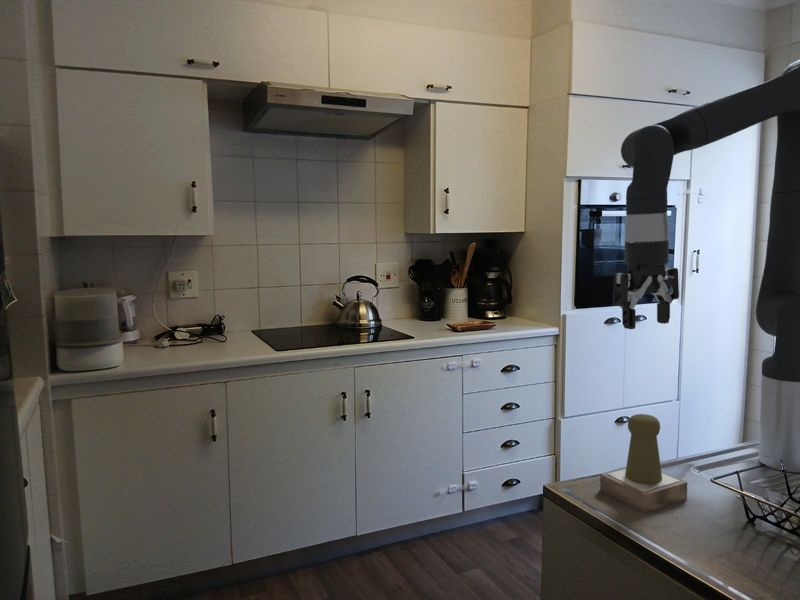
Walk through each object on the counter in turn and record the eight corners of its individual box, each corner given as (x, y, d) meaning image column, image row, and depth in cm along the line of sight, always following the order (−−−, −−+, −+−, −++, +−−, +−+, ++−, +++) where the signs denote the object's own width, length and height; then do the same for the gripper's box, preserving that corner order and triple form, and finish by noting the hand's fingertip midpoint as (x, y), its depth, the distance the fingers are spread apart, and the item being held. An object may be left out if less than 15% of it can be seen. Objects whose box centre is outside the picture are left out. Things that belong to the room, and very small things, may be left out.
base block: (641, 477, 114) (641, 461, 114) (686, 498, 105) (687, 481, 105) (600, 489, 110) (600, 473, 110) (643, 512, 101) (643, 494, 101)
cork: (656, 487, 103) (657, 423, 102) (620, 479, 107) (620, 418, 105) (666, 474, 108) (667, 414, 106) (631, 467, 111) (631, 408, 110)
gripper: (658, 236, 119) (657, 319, 121) (602, 241, 113) (602, 327, 115) (691, 236, 112) (690, 324, 114) (633, 241, 106) (633, 333, 108)
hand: (646, 325), depth 115 cm, fingers open, 8 cm apart
